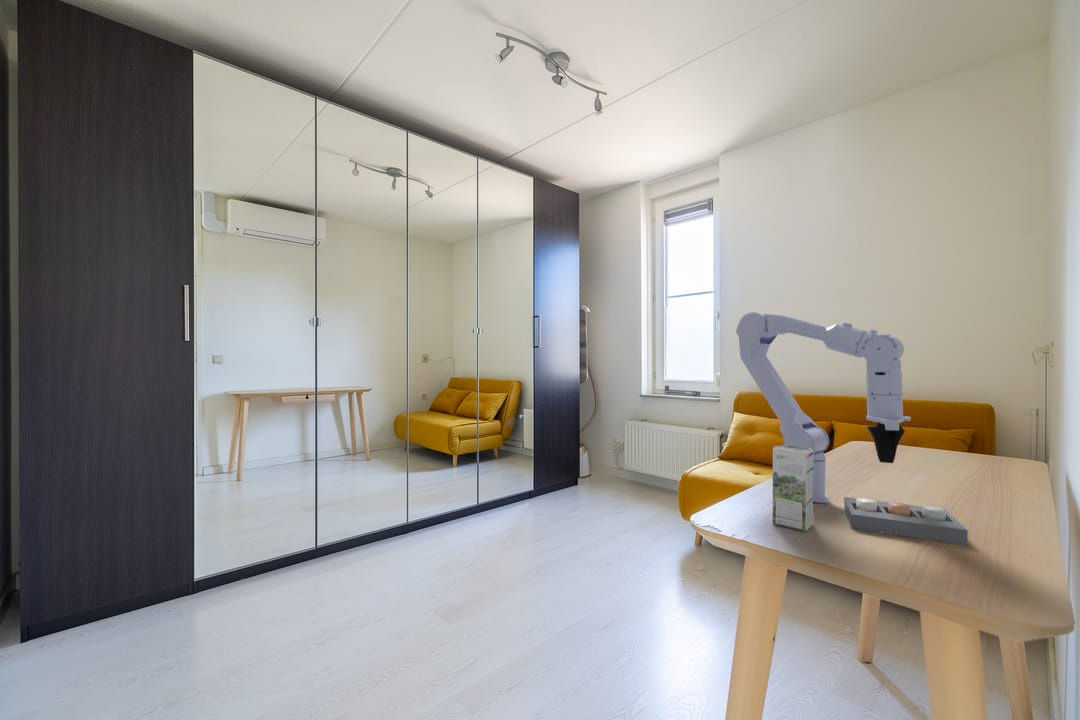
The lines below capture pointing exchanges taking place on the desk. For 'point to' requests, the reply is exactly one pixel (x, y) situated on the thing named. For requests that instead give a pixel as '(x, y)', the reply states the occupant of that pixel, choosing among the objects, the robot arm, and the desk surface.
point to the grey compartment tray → (905, 523)
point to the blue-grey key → (933, 513)
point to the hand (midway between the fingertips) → (886, 462)
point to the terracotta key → (898, 508)
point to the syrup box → (793, 487)
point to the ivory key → (866, 504)
